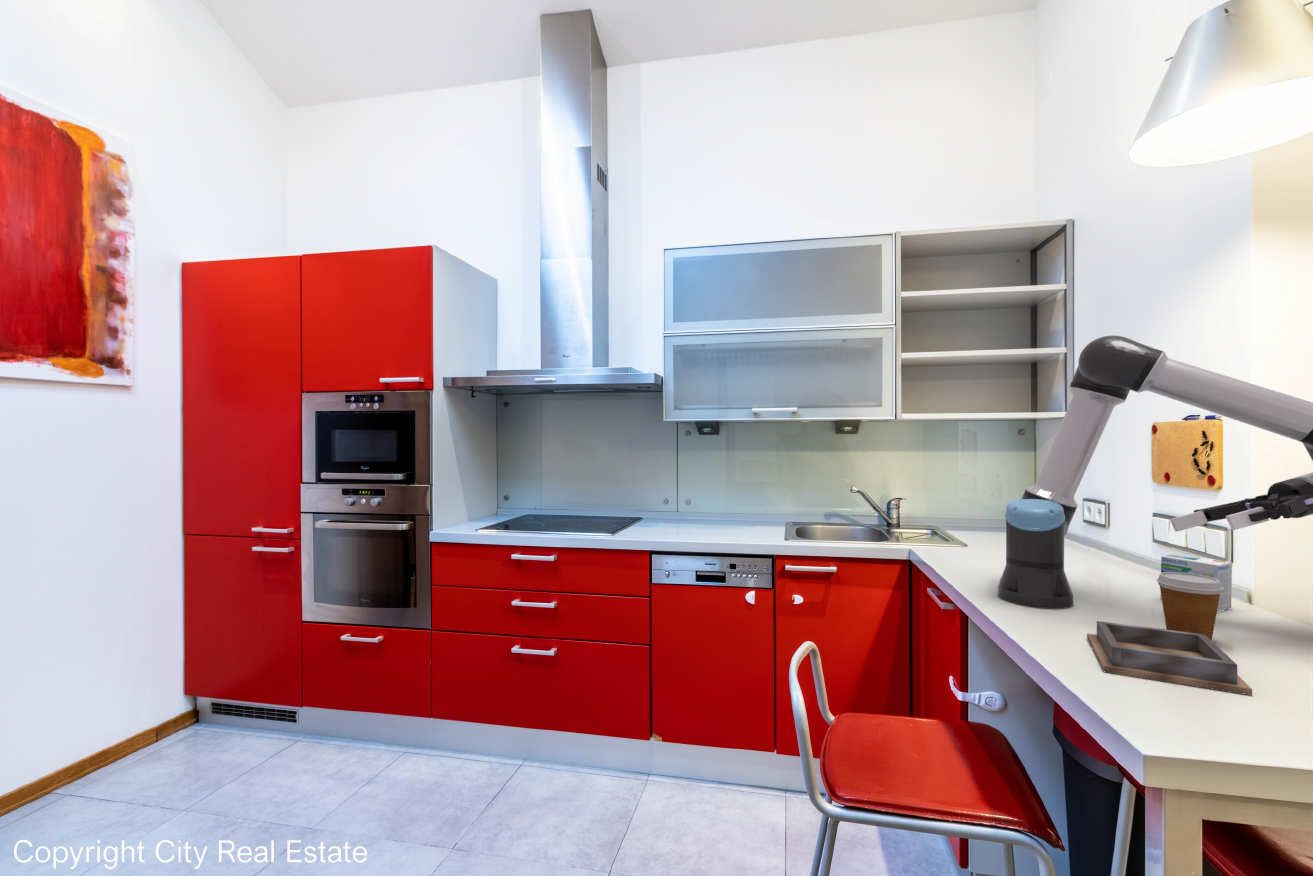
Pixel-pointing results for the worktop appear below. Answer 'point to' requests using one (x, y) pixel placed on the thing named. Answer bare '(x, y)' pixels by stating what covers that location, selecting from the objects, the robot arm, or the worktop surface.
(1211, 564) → the light bulb box
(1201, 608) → the disposable coffee cup
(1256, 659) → the worktop surface
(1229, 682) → the cup holder plate
